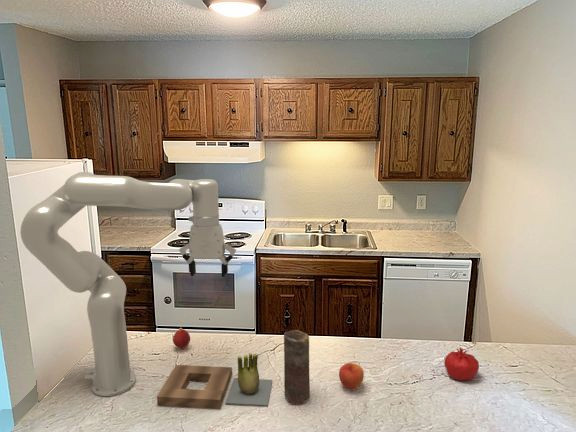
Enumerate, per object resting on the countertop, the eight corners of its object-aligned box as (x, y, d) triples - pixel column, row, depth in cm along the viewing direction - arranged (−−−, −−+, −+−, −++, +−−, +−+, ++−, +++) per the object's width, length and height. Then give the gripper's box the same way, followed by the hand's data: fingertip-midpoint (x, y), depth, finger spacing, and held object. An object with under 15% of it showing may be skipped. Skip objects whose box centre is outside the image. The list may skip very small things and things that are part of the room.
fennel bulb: (237, 394, 123) (235, 357, 121) (242, 384, 128) (241, 348, 125) (256, 397, 122) (255, 359, 120) (260, 387, 127) (260, 351, 124)
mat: (225, 404, 120) (225, 402, 120) (233, 379, 131) (233, 378, 131) (267, 406, 119) (267, 405, 119) (272, 381, 131) (272, 379, 130)
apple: (364, 382, 130) (365, 358, 129) (361, 396, 123) (362, 372, 122) (340, 378, 132) (341, 355, 131) (336, 392, 125) (337, 368, 124)
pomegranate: (478, 387, 128) (482, 360, 126) (443, 381, 131) (446, 354, 129) (475, 369, 137) (479, 343, 135) (443, 363, 140) (445, 338, 138)
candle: (280, 392, 125) (280, 330, 121) (303, 386, 128) (304, 326, 124) (289, 408, 118) (289, 342, 114) (313, 402, 121) (314, 338, 117)
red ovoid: (183, 342, 154) (182, 322, 152) (194, 347, 150) (192, 327, 148) (170, 349, 149) (169, 328, 148) (180, 354, 146) (179, 333, 144)
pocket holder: (157, 406, 119) (156, 396, 119) (176, 373, 135) (175, 364, 134) (220, 409, 118) (219, 399, 117) (232, 375, 133) (231, 367, 133)
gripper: (173, 223, 123) (177, 278, 127) (232, 224, 122) (233, 280, 126) (182, 217, 131) (184, 270, 134) (237, 218, 129) (238, 271, 133)
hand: (208, 275), depth 130 cm, fingers open, 9 cm apart
